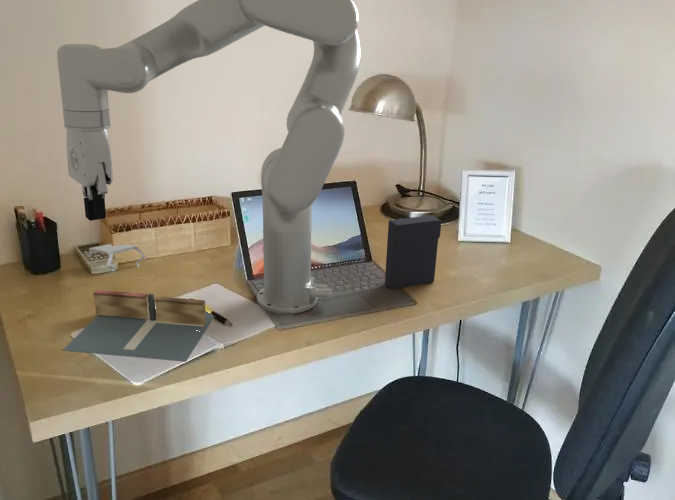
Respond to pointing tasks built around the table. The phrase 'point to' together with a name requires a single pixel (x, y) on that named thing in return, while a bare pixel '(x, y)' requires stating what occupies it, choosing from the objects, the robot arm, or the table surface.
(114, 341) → the card
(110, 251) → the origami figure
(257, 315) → the table surface
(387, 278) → the dark navy box
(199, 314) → the fence fixed
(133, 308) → the fence gate
